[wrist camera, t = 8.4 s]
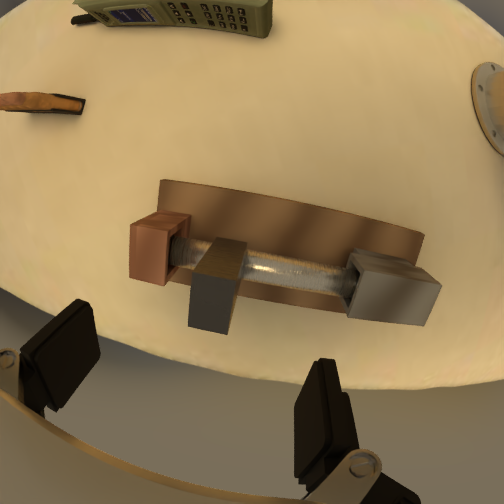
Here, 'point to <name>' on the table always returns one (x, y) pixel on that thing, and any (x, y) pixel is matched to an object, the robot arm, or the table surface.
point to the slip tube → (246, 277)
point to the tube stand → (290, 249)
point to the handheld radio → (182, 14)
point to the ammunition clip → (41, 103)
